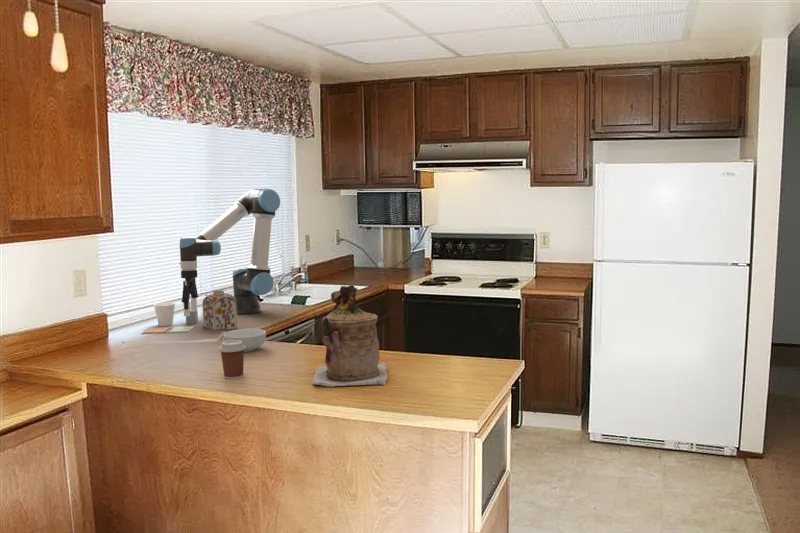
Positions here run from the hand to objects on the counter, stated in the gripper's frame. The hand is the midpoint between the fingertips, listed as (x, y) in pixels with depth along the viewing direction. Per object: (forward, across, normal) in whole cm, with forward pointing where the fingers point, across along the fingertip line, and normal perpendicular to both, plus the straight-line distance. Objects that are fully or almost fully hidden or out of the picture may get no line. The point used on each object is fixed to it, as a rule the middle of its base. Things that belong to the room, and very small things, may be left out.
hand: (190, 313), depth 336 cm
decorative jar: (+6, +12, +16) cm, 21 cm away
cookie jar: (+6, +104, +79) cm, 131 cm away
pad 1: (+5, +17, -11) cm, 21 cm away
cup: (+6, +2, -12) cm, 13 cm away
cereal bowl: (+6, +57, +36) cm, 67 cm away
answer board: (+6, +17, -6) cm, 18 cm away
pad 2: (+5, +17, 0) cm, 17 cm away
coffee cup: (+7, +98, +38) cm, 105 cm away
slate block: (+6, 0, 0) cm, 6 cm away
